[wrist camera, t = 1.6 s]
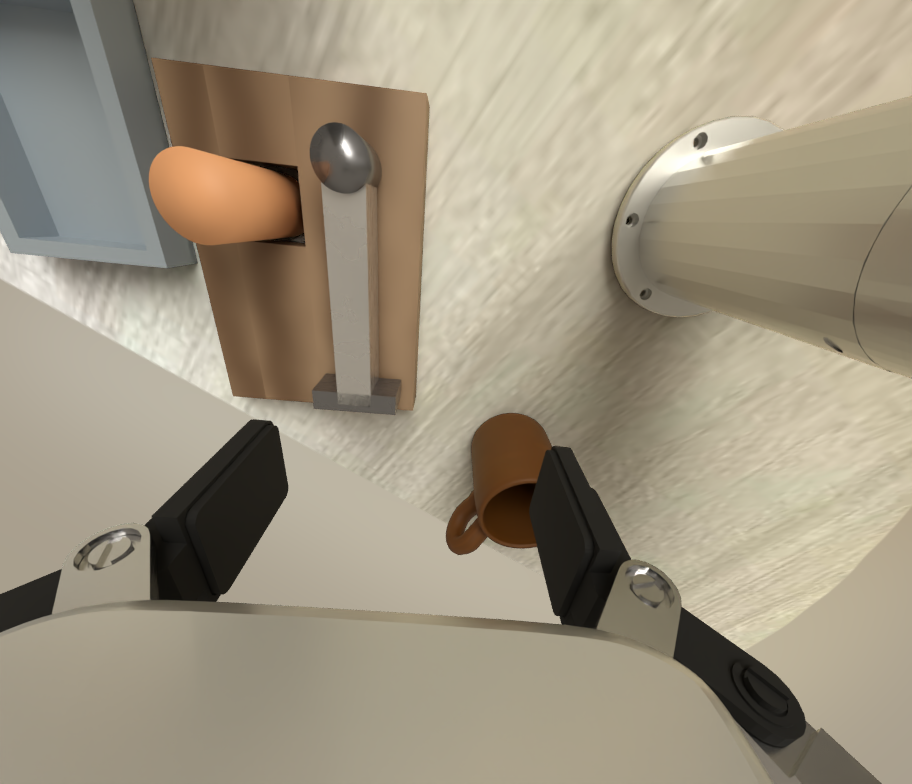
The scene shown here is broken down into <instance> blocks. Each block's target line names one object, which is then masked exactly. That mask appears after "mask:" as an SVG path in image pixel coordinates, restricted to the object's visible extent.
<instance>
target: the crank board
mask: <svg viewBox="0 0 912 784" xmlns="http://www.w3.org/2000/svg"><path fill="white" fill-rule="evenodd" d="M151 59H152V63H153V68H154V72H155V76H156V80H157V84H158V88H159V92H160V96H161V101H162V105H163V109H164V113H165V117H166V121H167V125H168V129H169V134H170V138H171V142H172V146H173V147H175V146H184V147H189V148H193V149H196V150H200V151H204V152H207V153H211V154H215V155H218V156H222V157H225V158H229V159H233V160H236V161H240V162H244V163H247V164H254V165H263V166H271V167H280V168H289V169H297V170H298V176H299V186H300V196H301V205H302V215H303V225H304V235H305V243H297V242H288V241H278V240H269V239H268V240H258V241H249V242H239V243H230V244H220V245H202V244H198V243H196V245H197V249H198V253H199V257H200V261H201V265H202V270H203V274H204V278H205V282H206V286H207V290H208V294H209V298H210V303H211V307H212V311H213V315H214V319H215V323H216V327H217V331H218V336H219V340H220V344H221V348H222V352H223V356H224V360H225V364H226V369H227V373H228V377H229V381H230V385H231V389H232V393H233V396H238V397H251V398H263V399H275V400H288V401H300V402H313V397H312V390H313V388H314V387H315V386H316V385H317V384H318V382H319V381H320V380H321V379H322V378H323V376H324V375H325V374H326V373H329V374H336V371H335V358H334V345H333V332H332V319H331V306H330V293H329V279H328V266H327V253H326V240H325V227H324V214H323V201H322V188H321V181H320V180H319V179H318V177H317V176H316V174H315V172H314V170H313V168H312V165H311V161H310V144H311V140H312V137H313V135H314V134H315V132H316V131H317V130H318V129H319V128H320V127H321V126H323V125H325V124H327V123H332V122H338V123H342V124H345V125H347V126H349V127H350V128H352V129H353V130H354V131H355V132H356V133H357V134H359V135H360V136H361V137H362V138H363V139H364V140H365V141H366V142H367V143H368V144H370V145H371V146H372V147H373V149H374V150H375V151H376V153H377V155H378V157H379V159H380V162H381V167H382V176H381V180H380V183H379V186H378V187H377V236H378V331H379V378H388V379H400V380H401V398H400V401H399V404H398V408H397V409H400V410H412V411H413V407H414V403H415V398H416V381H417V360H418V339H419V318H420V297H421V276H422V255H423V234H424V213H425V192H426V171H427V150H428V129H429V108H430V107H429V102H428V97H427V93H419V92H412V91H404V90H396V89H389V88H381V87H373V86H366V85H358V84H350V83H342V82H335V81H327V80H319V79H312V78H304V77H296V76H289V75H281V74H273V73H266V72H258V71H250V70H243V69H235V68H227V67H220V66H212V65H204V64H197V63H189V62H181V61H174V60H166V59H158V58H151Z"/></svg>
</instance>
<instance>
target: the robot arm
mask: <svg viewBox="0 0 912 784" xmlns="http://www.w3.org/2000/svg"><path fill="white" fill-rule="evenodd" d="M693 141H695V144H694V146H693ZM627 217H629V218H630V221H629V223H628V224H626V219H627ZM612 262H613V266H614V271H615V275H616V277H617V279H618V281H619V284H620V286H621V288H622V289H623V290H624V291H625V293H626V294H627V295H628V297H629V298H630V299H632V300H633V301H634V302H635V303H637V304H638V305H639V306H641V307H643V308H645V309H647V310H649V311H651V312H654V313H657V314H660V315H663V316H669V317H690V316H697V315H700V314H704V313H708V312H711V311H716V312H719V313H722V314H725V315H728V316H731V317H734V318H736V319H739V320H742V321H745V322H748V323H751V324H754V325H757V326H760V327H762V328H765V329H768V330H771V331H774V332H777V333H780V334H783V335H785V336H788V337H791V338H794V339H797V340H800V341H803V342H806V343H808V344H811V345H814V346H817V347H820V348H823V349H826V350H829V351H831V352H834V353H837V354H840V355H843V356H846V357H849V358H852V359H854V360H857V361H860V362H863V363H866V364H869V365H872V366H875V367H878V368H880V369H883V370H886V371H889V372H893V373H897V374H900V375H903V376H906V377H909V378H912V96H909V97H905V98H901V99H898V100H894V101H890V102H887V103H883V104H879V105H876V106H872V107H868V108H865V109H861V110H857V111H854V112H850V113H846V114H843V115H839V116H835V117H832V118H828V119H824V120H821V121H817V122H813V123H810V124H806V125H802V126H799V127H795V128H791V129H788V130H784V129H782V128H781V127H779V126H778V125H776V124H774V123H773V122H771V121H769V120H765V119H762V118H758V117H755V116H731V117H727V118H722V119H718V120H713V121H711V122H708V123H705V124H703V125H700V126H698V127H695V128H693V129H691V130H690V131H688V132H686V133H684V134H682V135H680V136H679V137H677V138H675V139H674V140H673V141H671V142H670V143H669V144H668V145H666V146H665V147H664V148H662V149H661V150H660V151H659V152H658V153H657V154H656V155H655V156H654V157H653V158H652V159H651V160H650V161H649V162H648V163H647V164H646V165H645V166H644V167H643V169H642V170H641V171H640V173H639V174H638V176H637V177H636V179H635V180H634V181H633V183H632V184H631V186H630V188H629V190H628V191H627V193H626V195H625V197H624V199H623V201H622V203H621V206H620V209H619V212H618V215H617V218H616V221H615V224H614V230H613V236H612ZM642 290H643V292H642ZM641 292H642V294H641V295H640V293H641ZM287 493H288V482H287V476H286V470H285V464H284V459H283V453H282V447H281V441H280V436H279V430H278V427H277V426H274V425H273V423H272V422H271V421H266V420H254V419H253V420H250V421H249V422H248V423H247V424H246V425H245V426H244V427H243V428H242V429H241V430H239V431H238V432H237V433H236V434H235V435H234V436H233V437H232V438H231V439H230V440H229V441H228V442H227V443H226V444H225V445H224V446H223V447H222V448H221V449H220V450H219V451H218V452H217V453H216V454H215V455H214V456H213V457H212V458H211V459H210V460H209V461H208V462H207V463H206V464H205V465H204V466H203V467H202V468H201V469H199V470H198V471H197V472H196V473H195V474H194V475H193V476H192V477H191V478H190V479H189V480H188V481H187V482H186V483H185V484H184V485H183V486H182V487H181V488H180V489H179V490H178V491H177V492H176V493H175V494H174V495H173V496H172V497H171V498H170V499H169V500H168V501H167V502H166V503H165V504H164V505H163V506H161V507H160V508H159V509H158V511H156V512H155V513H154V514H153V515H152V519H150V520H149V522H147V523H146V524H145V525H142V524H137V523H128V524H121V525H117V526H113V527H110V528H107V529H105V530H102V531H100V532H98V533H96V534H94V535H92V536H91V537H89V538H87V539H85V540H84V541H83V542H82V543H80V544H79V545H78V546H76V547H75V548H74V549H73V550H72V551H71V552H70V554H69V555H68V556H67V557H66V559H65V562H64V564H63V567H62V569H61V570H58V571H56V572H53V573H51V574H48V575H46V576H44V577H41V578H39V579H36V580H34V581H32V582H29V583H27V584H25V585H22V586H19V587H17V588H15V589H12V590H10V591H7V592H5V593H2V594H0V784H881V783H880V782H879V781H878V780H877V779H876V778H875V777H874V776H873V775H872V774H871V773H870V772H869V771H867V770H866V769H865V768H864V767H863V766H862V765H861V764H860V763H859V762H858V761H857V760H856V759H855V758H853V757H852V756H851V755H850V754H849V753H848V752H847V751H846V750H845V749H844V748H843V747H842V746H841V745H839V744H838V743H837V742H836V741H835V740H834V739H833V738H832V737H831V736H830V735H828V733H826V732H825V731H824V730H823V729H822V728H820V729H818V730H817V731H816V730H815V729H814V728H813V727H811V725H810V724H808V723H807V722H806V721H805V716H804V713H803V711H802V709H801V707H800V704H799V702H798V701H797V699H796V698H795V696H794V695H793V694H792V692H791V691H790V689H789V688H788V687H787V686H786V685H785V684H784V683H783V682H782V680H781V679H780V678H779V677H778V676H777V675H776V674H774V673H773V672H772V671H771V670H769V669H768V668H767V667H766V666H765V665H763V664H762V663H760V662H759V661H758V660H756V659H755V658H753V657H752V656H750V655H749V654H748V653H746V652H745V651H743V650H742V649H741V648H739V647H738V646H736V645H735V644H733V643H732V642H731V641H729V640H728V639H726V638H725V637H724V636H722V635H721V634H719V633H718V632H716V631H715V630H714V629H712V628H711V627H709V626H708V625H707V624H705V623H704V622H702V621H701V620H699V619H698V618H697V617H695V616H694V615H692V614H691V613H690V612H688V611H687V610H685V609H684V608H683V607H681V606H682V605H681V596H680V594H679V592H678V589H677V588H676V586H675V585H674V583H673V582H672V580H671V579H670V578H669V577H668V576H667V575H665V574H664V573H663V572H662V571H661V570H659V569H658V568H656V567H655V566H653V565H651V564H649V563H647V562H644V561H640V560H631V558H630V556H629V554H628V552H627V550H626V548H625V546H624V545H623V543H622V541H621V539H620V537H619V535H618V533H617V531H616V529H615V527H614V525H613V523H612V521H611V519H610V517H609V515H608V513H607V511H606V509H605V507H604V505H603V503H602V502H601V500H600V498H599V496H598V494H597V492H596V491H595V490H594V489H593V488H590V486H589V484H588V482H587V480H586V478H585V476H584V474H583V472H582V470H581V468H580V466H579V464H578V462H577V460H576V458H575V456H574V453H573V451H572V450H571V448H569V447H558V446H553V447H552V448H551V450H546V452H545V455H544V459H543V462H542V466H541V469H540V472H539V476H538V479H537V483H536V486H535V490H534V493H533V496H532V500H531V503H530V508H529V514H530V519H531V523H532V527H533V531H534V535H535V540H536V544H537V548H538V552H539V556H540V560H541V564H542V568H543V572H544V576H545V580H546V584H547V588H548V593H549V597H550V601H551V605H552V609H553V612H554V614H555V615H556V616H560V619H561V623H562V625H561V624H549V623H537V622H526V621H515V620H501V619H486V618H471V617H457V616H442V615H428V614H412V613H396V612H380V611H365V610H348V609H333V608H317V607H316V608H315V607H299V606H282V605H264V604H247V603H229V602H216V601H217V600H218V598H219V596H220V595H221V594H225V593H226V592H227V591H228V590H229V589H230V587H231V586H232V584H233V582H234V581H235V579H236V578H237V576H238V574H239V573H240V571H241V569H242V568H243V566H244V565H245V563H246V561H247V560H248V558H249V556H250V555H251V553H252V552H253V550H254V548H255V547H256V545H257V543H258V542H259V540H260V538H261V537H262V535H263V534H264V532H265V530H266V529H267V527H268V525H269V524H270V522H271V521H272V519H273V517H274V516H275V514H276V512H277V511H278V509H279V508H280V506H281V504H282V503H283V501H284V499H285V498H286V496H287Z"/></svg>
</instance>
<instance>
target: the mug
mask: <svg viewBox="0 0 912 784" xmlns="http://www.w3.org/2000/svg"><path fill="white" fill-rule="evenodd" d="M551 448H552V446H551V443H550V441H549V439H548V437H547V435H546V433H545V431H544V429H543V428H542V427H541V426H540V424H539V423H538V422H536V421H535V420H534V419H532V418H530V417H528V416H525V415H522V414H517V413H506V414H501V415H497V416H495V417H492V418H491V419H489V420H487V421H486V422H484V423H483V424H482V425H481V426H480V427H479V428H478V430H477V431H476V433H475V435H474V437H473V440H472V446H471V455H472V471H473V485H474V490H473V491H472V492H471V494H470V496H469V497H468V498H466V499H465V500H464V501H463V502H462V503H461V504H460V505H459V506H458V507H457V508H456V509H455V511H454V512H453V514H452V516H451V518H450V520H449V523H448V526H447V530H446V542H447V545H448V547H449V549H450V550H451V551H452V552H454V553H456V554H458V555H463V554H468V553H471V552H473V551H475V550H476V549H477V548H478V547H479V546H480V545H481V544H482V543H483V542H484V540H485V539H486V538H487V537H489V538H490V539H491V540H492V541H494V542H496V543H498V544H500V545H503V546H506V547H511V548H533V547H537V544H536V540H535V535H534V531H533V527H532V523H531V519H530V514H529V508H530V503H531V500H532V496H533V493H534V490H535V486H536V483H537V479H538V476H539V472H540V469H541V466H542V462H543V459H544V455H545V452H546V450H551ZM475 515H477V516H478V518H477V519H476V520H475V521H474V522H473V524H472V525H471V526H470V527H469V528H468V529H467V530H466V531H465V528H466V526H467V524H468V522H469V521H470V520H471V519H472V518H473V517H474V516H475Z"/></svg>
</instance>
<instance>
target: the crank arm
mask: <svg viewBox="0 0 912 784" xmlns="http://www.w3.org/2000/svg"><path fill="white" fill-rule="evenodd" d="M310 161H311V165H312V168H313V170H314V172H315V174H316V176H317V177H318V179H319V180H320V181H321V188H322V201H323V214H324V227H325V240H326V253H327V266H328V279H329V293H330V306H331V319H332V332H333V345H334V358H335V371H336V374H329V373H326V374H325V375H324V376H323V378H322V379H321V380H320V381H319V382H318V384H317V385H316V386H315V387H314V388H313V390H312V397H313V405H314V408H315V409H328V410H340V411H353V412H366V413H378V414H391V415H395V414H396V411H397V408H398V404H399V401H400V398H401V380H400V379H388V378H379V331H378V236H377V187H378V186H379V183H380V180H381V176H382V167H381V162H380V159H379V157H378V155H377V153H376V151H375V150H374V149H373V147H372V146H371V145H370V144H368V143H367V142H366V141H365V140H364V139H363V138H362V137H361V136H360V135H359V134H357V133H356V132H355V131H354V130H353V129H352V128H350V127H349V126H347V125H345V124H342V123H338V122H332V123H327V124H325V125H323V126H321V127H320V128H319V129H318V130H317V131H316V132H315V134H314V135H313V137H312V140H311V144H310Z"/></svg>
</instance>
